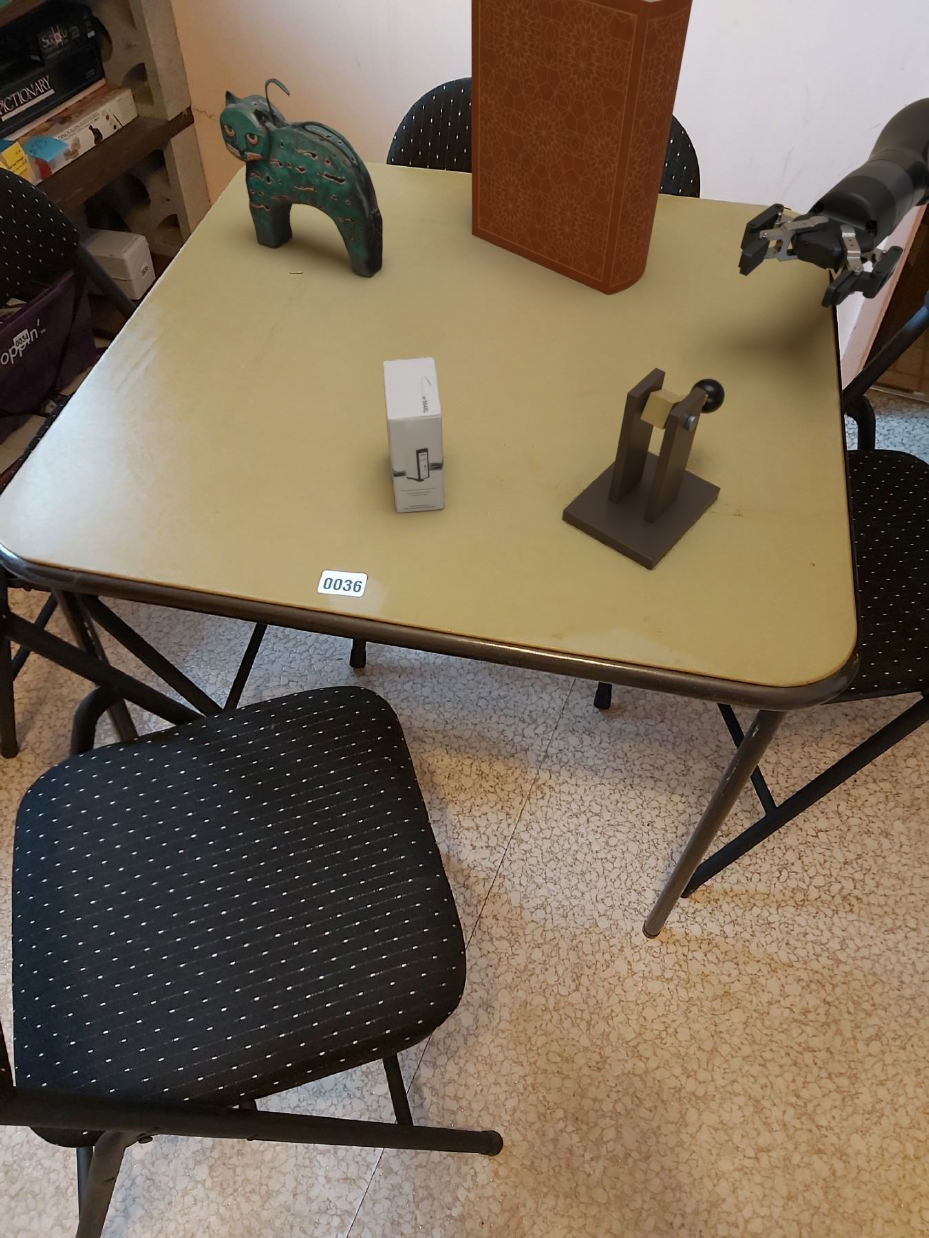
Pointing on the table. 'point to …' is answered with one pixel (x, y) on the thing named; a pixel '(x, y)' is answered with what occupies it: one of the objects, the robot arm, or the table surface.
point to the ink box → (414, 433)
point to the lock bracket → (646, 482)
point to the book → (573, 129)
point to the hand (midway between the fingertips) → (784, 282)
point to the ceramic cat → (302, 176)
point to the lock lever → (667, 401)
